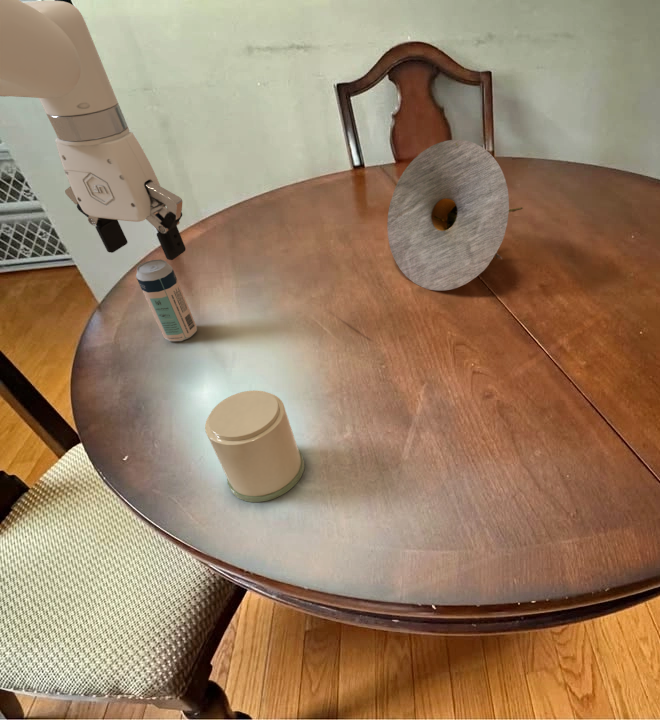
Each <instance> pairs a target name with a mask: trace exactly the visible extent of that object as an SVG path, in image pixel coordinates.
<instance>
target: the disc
mask: <svg viewBox="0 0 660 720" xmlns="http://www.w3.org/2000/svg"><path fill="white" fill-rule="evenodd" d="M509 197H510V196H509V189H508V184H507V181H506V177H505V174H504V172H503V170H502V168H501V166H500V165H499V163H498V161H497V160H496V159H495V157H494V156H493V155H492V154H491V153H490V152H489V151H487V149H485V148H484V147H482V146H481V145H479V144H478V143H475V142H472V141H470V140H464V139H450V140H449V139H448V140H444V141H440V142H438V143H436V144H435V143H434V144H433V145H431V146H429V147H428V148H426V149H424V150H423V151H421V152H420V153H419V154H418V155H416V157H414V158H413V159H412V161H410V163H408V165H407V166H406V168H405V169H404V170H403V172H402V174H401V175H400V177H399V179H398V181H397V183H396V186H395V187H394V190H393V192H392V197H391V199H390V201H389V202H390V203H389V207H388V213H387V238H388V239H387V240H388V244H389V249H390V252H391V255H392V258H393V260H394V261H395V263H396V265H397V266H398V268H399V270H400V271H401V272H402V274H403V275H404V276H405V277H406V278H407V279H408V280H409V281H411V282H412V283H413V284H416V286H419V287H421V288H423V289H426V290H431V291H450V290H455V289H458V288H460V287H462V286H464V285H467V284H468V283H469V282H471V281H473V280H474V279H476V278H477V277H478V276H479V275H480V274H482V273H483V272H484V271H485V270H486V269H487V268H488V266H489V265H490V263H491V262H492V260H493V258H495V259H499V260H504V258H503V256H501V255H500V254H499V253H498V251H499V249H500V247H501V245H502V243H503V240H504V238H505V234H506V231H507V227H508V221H509V213H514V212H517V211H520V210H523V209H524V208H523V207H521V206H520V207H518V208H511V209H510V198H509Z"/></svg>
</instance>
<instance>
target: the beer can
mask: <svg viewBox="0 0 660 720" xmlns="http://www.w3.org/2000/svg"><path fill="white" fill-rule="evenodd" d="M135 278H136V280H137V283H138V284H139V287H140V289H141V291H142V293H143V295H144V298H145V299H146V302H147V304H148V306H149V308H150V310H151V313H152V315H153V317H154V319H155V321H156V323H157V325H158V328H159V330H160V332H161V334H162V337H163V338H164V340H166V341H169V342H183V341H186V340H188V339H190V338H191V337H192V336H194V335H195V334H196V332H197V331H198V326H197V324H196V322H195V318H194V317H193V314H192V312H191V309H190V308H189V304H188V302H187V300H186V298H185V295H184V292H183V290H182V288H181V285H180V283H179V280H178V278H177V276H176V273H175V271H174V268H173V266H172V265H171V264H169V263H168V262H167V261H166V260H164V259H161V258H160V259H151V260H147V261H144V262H142V263H141V264H139V265H138V266H137V267H136V275H135Z"/></svg>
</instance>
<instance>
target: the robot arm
mask: <svg viewBox="0 0 660 720" xmlns="http://www.w3.org/2000/svg"><path fill="white" fill-rule="evenodd" d="M0 97H16V98H17V97H18V98H35V99H38V100H39V102H40V104H41V107H42V108H43V110H44V113H45V114H46V116H47V118H48V120H49V122H50V124H51V127H52V128H53V130H54V133H55V134H56V136H57V137H56V138H55V146H56V149H57V153H58V156H59V157H58V158H59V159H60V162H61V165H62V169H63V171H64V173H65V176H66V178H67V181H68V183H69V185H70V186H69V187H67V188H66V189H65V190H64V193H65V195H66V196H67V197H68V198H69V199H70V200H71V202H73V204H74V205H76V208H77V210H78V211H79V212H80V213H82V214H83V215H84V217H86V218H87V221H88V223H89V225H91V226H94V227H95V229H96V232H97V233H98V236H99V237H100V239H101V242H102V243H103V244H102V245H103V246H104V248H105V249H106V251H107V253H111V254H112V253H115V252H117V251H118V250H120V249H122V248H123V247H125V246H126V245H127V244H128V243H129V242H128V239H127V237H126V235H125V233H124V230H123V228H122V226H121V224H120V222H119V221H124V222H135V223H139V222H144V221H147V222H148V223H150V225H151V226H152V227H154V228H155V229H156V230H157V231H158V232H157V233H156V237H157V240H158V242H159V245H160V247H161V249H162V251H163V254H164V256H165V258H166V260H168V261H173V260H175V259H176V258H178V257H179V256H181V255H182V254H184V253H185V252H186V246H185V243H184V240H183V238H182V235H181V233H180V231H179V227H178V225H180V223H181V222H180V220H181V219H182V217H183V212H182V211H183V199H182V197H180V196H178V195H176V193H173V192H172V191H169V190H167V188H164V187H163V186H161V185H160V181H159V179H158V177H157V175H156V173H155V170H154V169H153V166H152V165H151V163H150V161H149V159H148V157H147V155H146V152H145V151H144V149H143V147H142V145H141V144H140V142H139V141H138V139H137V137H136V136H135V134H134V133H133V132H131V131H130V129H129V125H128V123H127V121H126V118H125V116H124V114H123V112H122V109H121V106H120V104H119V102H118V99H117V96H116V94H115V91H114V88H113V87H112V84H111V81H110V79H109V77H108V74H107V72H106V70H105V67H104V65H103V63H102V60H101V57H100V55H99V52H98V50H97V47H96V45H95V43H94V40H93V38H92V35H91V32H90V30H89V28H88V26H87V23H86V20H85V18H84V16H83V15H82V13H81V12H80V10H79V9H78V8H77V7H76V6H74V4H71V3H70V2H67V1H63V0H37V1H26V2H24V1H21V0H0ZM157 214H159V215H160V216H161V217H162V218H163V219H162V220H161V219H160V218H159V217H158V216H157Z"/></svg>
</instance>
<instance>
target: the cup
mask: <svg viewBox="0 0 660 720" xmlns="http://www.w3.org/2000/svg"><path fill="white" fill-rule="evenodd" d="M288 416H289V415H288V413H287V410H286V407H285V404H284V402H283V400H281V399H280V397H279V396H277V395H275V394H273V393H271V392H267V391H264V390H255V389H254V390H245V391H241V392H238V393H235V394H232V395H230V396H228V397H226V398H224V399H223V400H221V401H220V402H219V403H218V404H216V405H215V407H214V408H213V409H212V410H211V411H210V413H209V414H208V416H207V419H206V421H205V425H204V430H205V433H206V436H207V438H208V441H209V443H210V444H211V446H212V449H213V451H214V453H215V455H216V457H217V460H218V462H219V464H220V466H221V468H222V470H223V473H224V474H225V476H226V482H227V486H228V487H229V490H230V492H231V493H232V494H233V496H235V498H238V499H239V500H241V501H245V502H249V503H261V502H262V503H263V502H267V501H271V500H274V499H276V498H279V497H281V496H283V495H285V494H286V493H288V492H289V491H290V490H292V489H293V487H295V486H296V485H297V484H298V482H299V481H300V480H301V478H302V476H303V474H304V471H305V460H304V457H303V454H302V452H301V450H300V449H299V446H298V444H297V440H296V438H295V435H294V432H293V428H292V425H291V422H290V420H289V417H288Z"/></svg>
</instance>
